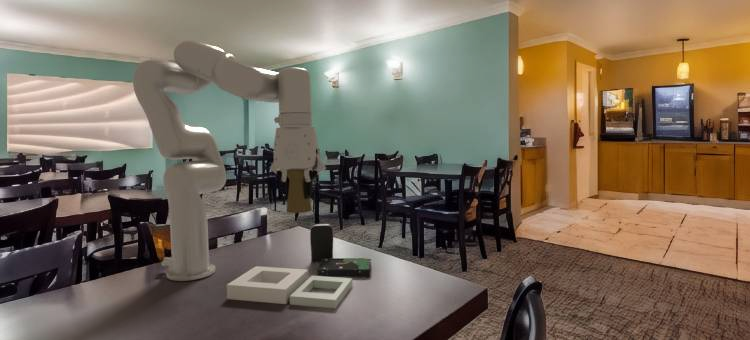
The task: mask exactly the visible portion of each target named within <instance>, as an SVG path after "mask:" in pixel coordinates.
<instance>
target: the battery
mask: <svg viewBox="0 0 750 340" xmlns="http://www.w3.org/2000/svg"><path fill="white" fill-rule="evenodd" d="M309 236H310V237H309V241H310V255H311V257H310V260H311V262H313V263H320V262H321V260H322V259H325V258H334V229H333V227H332V225H331V224H330V223H315V224H312V225H311V227H310V232H309Z"/></svg>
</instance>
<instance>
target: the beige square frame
mask: <svg viewBox="0 0 750 340" xmlns="http://www.w3.org/2000/svg"><path fill="white" fill-rule="evenodd" d="M308 279H309V269H305V268H304V269H302V268H301V269H300V268H289V267H288V268H287V267H286V268H285V267H276V266H275V267H272V266H257V265H256V266H254V267H252V268H250V269H249V270H248V271H246V272H245V273H243V274H241V275H239V276H238V277H236V278H235V279H233V280H232V281H231V282H229V283H227V284H226V295H227V296H226V298H227V300H235V301H247V302H258V303H268V304H280V305H281V304H282V305H287V304H288V303H289V304H290V295H292V294H293V293H294V292H295V291H296V290H297V289H298V288H299V287H300V286H301V285H302V284H303V283H304V282H305V281H307V280H308Z"/></svg>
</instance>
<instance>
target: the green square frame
mask: <svg viewBox="0 0 750 340" xmlns="http://www.w3.org/2000/svg"><path fill="white" fill-rule="evenodd" d="M352 287H353V277H325V276H317V275H311V276H310V277H308V280H307V281H305V282H304V283H303V284H302V285H301V286H300V287H299V288H298V289H297V290H296V291H295V292H294V293H293V294H292V295H290V303H289V305H292V306H294V305H295V306H301V307H313V308H314V307H315V308H323V309H324V308H325V309H326V308H327V309H335V310H336V309H337V307H338V306H339V305H340V303H341V302H342V301H343V299H344V298H345V297H346V295H347V294H348V292H349V291H350V290H351V289H352ZM313 288H314V289H315V288H316V289H326V290H335V292H334V293H333V294H332V293H321V292H311V291H312V290H313Z"/></svg>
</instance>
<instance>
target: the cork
mask: <svg viewBox="0 0 750 340" xmlns="http://www.w3.org/2000/svg"><path fill="white" fill-rule="evenodd" d="M287 177H288V178H289V192H288V199H287V202H286V213H291V214H300V213H302V214H303V213H308V212H311V211H312V210H313V209H312V203H311V197H310V198H308V199H305V197H304V187H303V183H304V182H305V176H304V170H303V169H287Z"/></svg>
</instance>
